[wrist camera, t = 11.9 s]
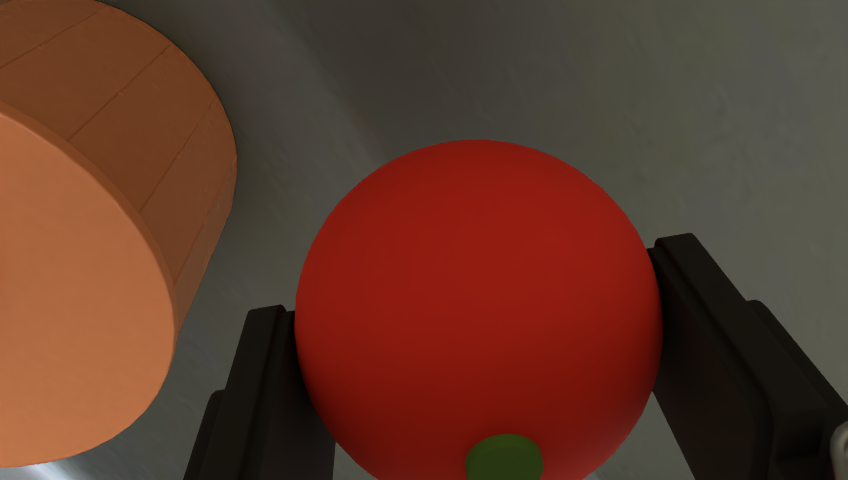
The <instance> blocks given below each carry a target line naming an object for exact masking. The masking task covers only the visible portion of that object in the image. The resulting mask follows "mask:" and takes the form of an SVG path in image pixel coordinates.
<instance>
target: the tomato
mask: <svg viewBox="0 0 848 480" xmlns="http://www.w3.org/2000/svg"><path fill="white" fill-rule="evenodd" d="M294 333H295V341H296V349H297V357H298V364H299V367H300V371H301V374H302V377H303V381H304V384H305V387H306V389H307V392H308V395H309V397H310V400H311V402H312V404H313V406H314V408H315V410H316V412H317V414H318V415H319V417H320V419H321V420H322V422H323V423H324V425H325V427H326V428H327V430H328V431H329V432H330V434H331V435H332V437H333V438H334V440H335V441H336V442H337V443H338V444H339V445H340V446H341V447H342V448H343V449H344V450H345V451H346V452H347V454H348V455H349V456H350V457H351V458H352V459H353V460H354V461H355V462H356V463H357V464H358V465H359V466H361V467H362V468H363V469H364V470H366V471H367V472H368V473H370V474H371V475H372V476H374V477H375V478H377V479H378V480H583V479H584V478H585V477H587V476H588V475H589V474H590V473H592V472H593V471H594V470H596V469H597V468H598V467H599V466H601V465H602V464H603V463H604V462H605V461H606V460H607V459H608V458H609V457H610V456H611V455H612V454H613V453H614V452H615V451H616V450H617V449H618V448H619V446H620V445H621V444H622V443H623V442H624V440H625V439H626V437H627V436H628V435H629V433H630V432H631V430H632V429H633V427H634V426H635V424H636V423H637V421H638V419H639V418H640V416H641V415H642V412H643V410H644V408H645V406H646V403H647V401H648V399H649V396H650V394H651V391H652V389H653V386H654V384H655V380H656V376H657V373H658V369H659V364H660V357H661V351H662V342H663V317H662V302H661V295H660V291H659V287H658V283H657V279H656V276H655V272H654V268H653V264H652V262H651V260H650V257H649V255H648V253H647V251H646V248H645V246H644V244H643V242H642V240H641V238H640V236H639V234H638V232H637V231H636V229H635V228H634V226H633V225H632V223H631V222H630V220H629V219H628V217H627V216H626V214H625V213H624V212H623V211H622V210H621V208H620V207H619V206H618V205H617V204H616V203H615V202H614V200H613V199H612V198H611V197H610V196H609V195H608V194H607V193H606V192H605V191H604V190H603V189H602V188H601V187H600V186H598V185H597V184H596V183H594V182H593V181H592V180H591V179H589V178H588V177H587V176H585V175H584V174H583V173H581V172H580V171H578V170H577V169H576V168H574V167H572V166H570V165H569V164H567V163H565V162H563V161H561V160H560V159H558V158H556V157H553V156H551V155H548V154H546V153H543V152H540V151H538V150H535V149H532V148H529V147H525V146H520V145H516V144H512V143H508V142H500V141H491V140H462V141H454V142H446V143H440V144H436V145H433V146H429V147H425V148H421V149H418V150H416V151H413V152H411V153H408V154H405V155H403V156H400V157H398V158H396V159H395V160H393V161H391V162H389V163H387V164H385V165H384V166H382V167H380V168H379V169H377V170H376V171H375V172H373V173H372V174H370V175H369V176H368V177H366V178H365V179H363V180H362V181H361V182H360V183H359V184H358V185H357V186H356V187H354V188H353V189H352V190H351V191H350V192H349V193H348V194H347V195H346V196H345V197H344V198H343V199H342V200H341V201H340V202H339V204H338V205H337V206H336V207H335V208H334V210H333V211H332V212H331V213H330V215H329V216H328V218H327V219H326V221H325V223H324V224H323V226H322V228H321V229H320V231H319V233H318V234H317V236H316V238H315V240H314V241H313V243H312V245H311V248H310V250H309V253H308V255H307V258H306V260H305V263H304V266H303V269H302V273H301V276H300V281H299V285H298V289H297V294H296V306H295V323H294Z"/></svg>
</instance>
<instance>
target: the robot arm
mask: <svg viewBox="0 0 848 480" xmlns="http://www.w3.org/2000/svg"><path fill="white" fill-rule="evenodd" d="M646 251H647V253H648V255H649V257H650V260H651V262H652V264H653V268H654V272H655V276H656V279H657V283H658V287H659V291H660V295H661V302H662V317H663V342H662V351H661V357H660V364H659V369H658V373H657V376H656V380H655V384H654V386H653V389H652V391H653V393H654V395H655V397H656V399H657V401H658V403H659V405H660V408H661V410H662V412H663V414H664V416H665V418H666V420H667V422H668V424H669V426H670V428H671V430H672V432H673V434H674V436H675V439H676V441H677V443H678V445H679V447H680V449H681V451H682V453H683V455H684V457H685V459H686V461H687V463H688V465H689V467H690V470H691V472H692V474H693V476H694V478H695V480H848V405H847V404H846V403H845V402H844V401H843V399H842V398H841V397H840V396H839V394H838V393H837V392H836V391H835V390H834V388H833V387H832V386H831V385H830V384H829V382H828V381H827V380H826V379H825V377H824V376H823V375H822V374H821V373H820V371H819V370H818V369H817V368H816V366H815V365H814V364H813V363H812V362H811V360H810V359H809V358H808V357H807V355H806V354H805V353H804V352H803V351H802V349H801V348H800V347H799V346H798V344H797V343H796V342H795V341H794V340H793V338H792V337H791V336H790V335H789V333H788V332H787V331H786V330H785V329H784V327H783V326H782V325H781V324H780V322H779V321H778V320H777V319H776V318H775V316H774V315H773V314H772V313H771V311H770V310H769V309H768V308H767V307H766V306H765V305H764V304H763V303H762V302H760V301H758V300H750V301H746V300H745V299H744V298H743V297H742V295H741V294H740V293H739V291H738V290H737V289H736V288H735V286H734V285H733V284H732V283H731V281H730V280H729V279H728V277H727V276H726V275H725V274H724V272H723V271H722V270H721V268H720V267H719V266H718V265H717V263H716V262H715V261H714V260H713V258H712V257H711V256H710V254H709V253H708V252H707V251H706V249H705V248H704V247H703V246H702V244H701V243H700V242H699V240H698V239H697V238H696V237H695V236H694V235H693V234H692V233H685V234H680V235H674V236H668V237H663V238H658V239H657V240H656V241H655V246H654V248H648V249H646ZM294 323H295V311H288V312H286V309H285V308H284V306H283V305H281V304H280V305H275V306H269V307H263V308H258V309H252V310H250V311H249V312H248V314H247V317H246V320H245V324H244V327H243V330H242V334H241V337H240V340H239V344H238V347H237V350H236V354H235V357H234V361H233V364H232V367H231V371H230V374H229V377H228V381H227V384H226V387H225V389H224V390H218V391H215V392H214V393H213V394H212V395H211V397H210V399H209V401H208V404H207V407H206V410H205V413H204V416H203V419H202V422H201V426H200V429H199V432H198V435H197V438H196V441H195V444H194V447H193V450H192V454H191V457H190V460H189V463H188V466H187V469H186V472H185V475H184V478H183V480H332V478H333V466H334V454H335V443H336V441H335V440H334V438H333V437H332V435H331V434H330V432H329V431H328V430H327V428H326V427H325V425H324V423H323V422H322V420H321V419H320V417H319V415H318V414H317V412H316V410H315V408H314V406H313V404H312V402H311V400H310V397H309V395H308V392H307V389H306V387H305V384H304V381H303V377H302V374H301V371H300V367H299V364H298V357H297V349H296V341H295V333H294Z"/></svg>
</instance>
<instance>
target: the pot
mask: <svg viewBox="0 0 848 480" xmlns="http://www.w3.org/2000/svg"><path fill="white" fill-rule="evenodd" d="M0 100H1V101H3V102H5V103H7V104H9V105H10V106H12V107H14V108H16V109H18V110H19V111H21V112H23V113H25V114H27V115H29V116H30V117H32V118H34V119H36V120H37V121H39V122H40V123H41V124H43V125H44V126H46V127H47V128H49V129H50V130H52V131H53V132H55V133H56V134H58V135H59V136H61V137H62V138H63V139H65V140H66V141H68V142H69V143H70V144H71V145H73V146H74V147H75V148H76V149H77V150H79V151H80V152H81V153H82V154H83V155H85V156H86V157H87V158H88V159H89V160H91V161H92V162H93V163H94V164H95V165H96V166H98V167H99V168H100V170H101V171H102V172H103V173H104V174H105V175H106V176H107V177H108V178H109V179H110V180H111V181H112V182H113V183H114V184H115V185H116V186H117V187H118V188H119V189H120V190H121V191H122V192H123V194H124V195H125V196H126V197H127V199H128V200H129V201H130V203H131V204H132V205H133V207H134V208H135V209H136V210H137V212H138V213H139V214H140V216H141V217H142V218H143V220H144V222H145V223H146V225H147V227H148V228H149V230H150V232H151V233H152V235H153V237H154V238H155V240H156V242H157V243H158V245H159V247H160V250H161V252H162V255H163V257H164V259H165V262H166V264H167V266H168V269H169V271H170V275H171V279H172V282H173V286H174V290H175V294H176V299H177V309H178V319H179V323H178V335H179V333H180V330H181V328H182V326H183V323H184V321H185V318H186V316H187V314H188V311H189V309H190V306H191V304H192V302H193V299H194V297H195V294H196V292H197V290H198V287H199V285H200V283H201V280H202V278H203V275H204V273H205V271H206V268H207V266H208V263H209V261H210V259H211V256H212V254H213V251H214V249H215V247H216V244H217V242H218V239H219V237H220V235H221V232H222V230H223V228H224V225H225V223H226V220H227V218H228V216H229V213H230V211H231V208H232V205H233V195H234V192H235V185H236V179H237V153H236V146H235V140H234V136H233V133H232V129H231V126H230V122H229V120H228V117H227V115H226V113H225V110H224V108H223V106H222V103H221V102H220V100H219V98H218V97H217V95H216V93H215V91H214V90H213V88H212V86H211V85H210V83H209V82H208V81H207V79H206V78H205V77H204V75H203V74H202V73H201V71H200V70H199V69H198V67H197V66H196V65H195V64H194V63H193V62H192V61H191V60H190V59H189V58H188V57H187V56H186V55H185V54H184V53H183V52H182V51H181V50H180V49H179V48H178V47H177V46H176V45H174V44H173V43H172V42H171V41H170V40H168V39H167V38H166V37H165V36H164V35H162V34H161V33H159V32H158V31H156V30H155V29H153V28H152V27H150V26H149V25H147V24H146V23H144V22H143V21H141V20H139V19H137V18H135V17H133V16H131V15H130V14H128V13H126V12H124V11H122V10H119V9H117V8H114V7H112V6H109V5H107V4H104V3H102V2H99V1H95V0H0ZM177 337H178V336H177Z"/></svg>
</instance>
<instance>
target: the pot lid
mask: <svg viewBox="0 0 848 480" xmlns="http://www.w3.org/2000/svg"><path fill="white" fill-rule="evenodd" d="M178 323H179V319H178V309H177V299H176V294H175V290H174V286H173V282H172V279H171V275H170V271H169V269H168V266H167V264H166V262H165V259H164V257H163V255H162V252H161V250H160V247H159V245H158V243H157V242H156V240H155V238H154V237H153V235H152V233H151V232H150V230H149V228H148V227H147V225H146V223H145V222H144V220H143V218H142V217H141V216H140V214H139V213H138V212H137V210H136V209H135V208H134V207H133V205H132V204H131V203H130V201H129V200H128V199H127V197H126V196H125V195H124V194H123V192H122V191H121V190H120V189H119V188H118V187H117V186H116V185H115V184H114V183H113V182H112V181H111V180H110V179H109V178H108V177H107V176H106V175H105V174H104V173H103V172H102V171H101V170H100V168H99V167H98V166H96V165H95V164H94V163H93V162H92V161H91V160H89V159H88V158H87V157H86V156H85V155H83V154H82V153H81V152H80V151H79V150H77V149H76V148H75V147H74V146H73V145H71V144H70V143H69V142H68V141H66V140H65V139H63V138H62V137H61V136H59V135H58V134H56V133H55V132H53V131H52V130H50V129H49V128H47V127H46V126H44V125H43V124H41V123H40V122H39V121H37V120H36V119H34V118H32V117H30V116H29V115H27V114H25V113H23V112H21V111H19V110H18V109H16V108H14V107H12V106H10V105H9V104H7V103H5V102H3V101H1V100H0V468H1V467H20V466H27V465H34V464H41V463H47V462H51V461H55V460H59V459H63V458H67V457H71V456H73V455H76V454H79V453H82V452H84V451H87V450H90V449H92V448H94V447H96V446H98V445H100V444H102V443H104V442H106V441H108V440H110V439H111V438H113V437H115V436H116V435H117V434H119V433H120V432H122V431H123V430H124V429H126V428H127V427H128V426H130V425H131V424H132V423H133V422H134V421H135V420H136V419H137V418H138V417H139V416H140V415H141V414H142V413H143V412H144V411H145V410H146V409H147V408H148V407H149V405H150V404H151V402H152V401H153V400H154V398H155V397H156V395H157V394H158V393H159V391H160V389H161V387H162V384H163V382H164V380H165V378H166V376H167V374H168V371H169V369H170V367H171V364H172V360H173V356H174V353H175V349H176V345H177V336H178Z"/></svg>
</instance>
